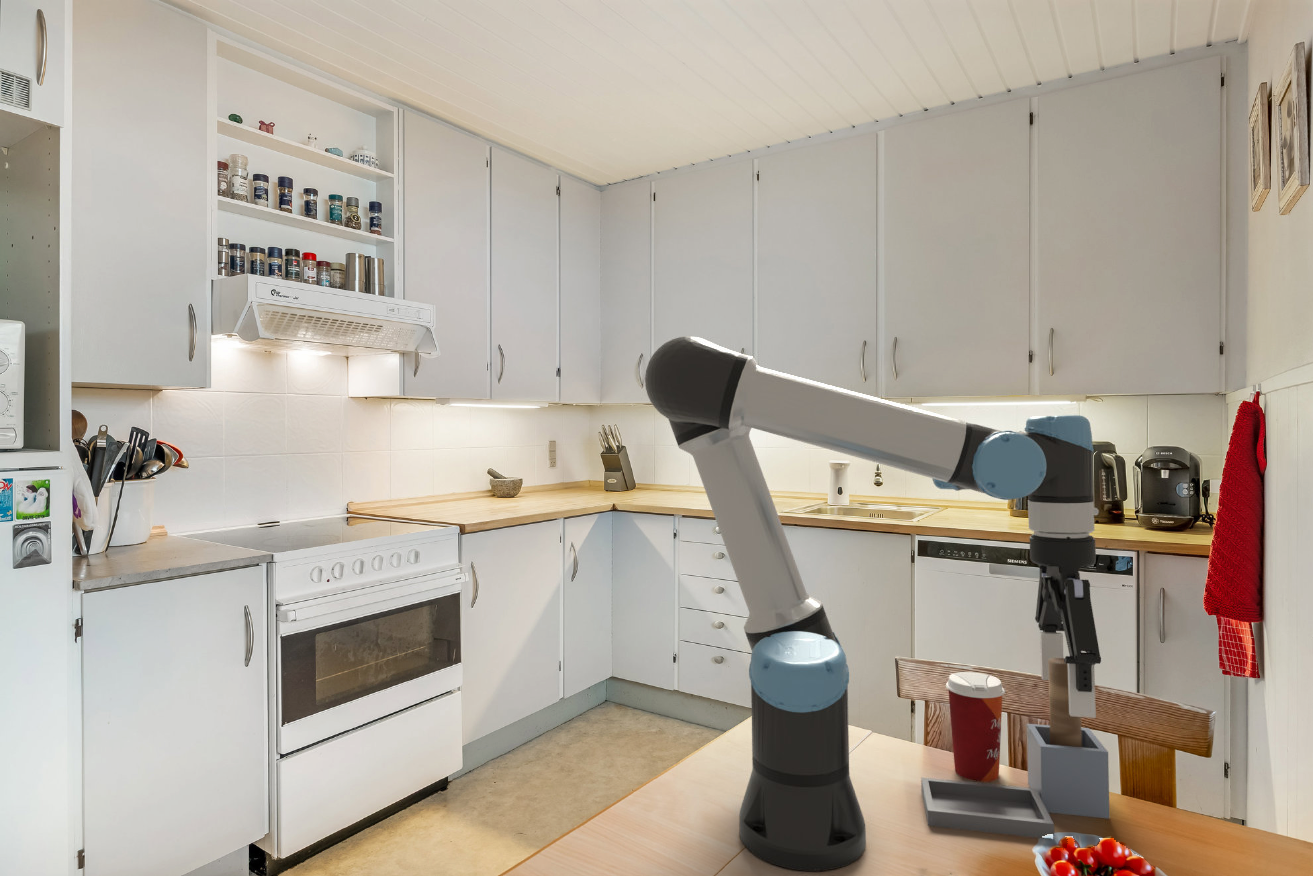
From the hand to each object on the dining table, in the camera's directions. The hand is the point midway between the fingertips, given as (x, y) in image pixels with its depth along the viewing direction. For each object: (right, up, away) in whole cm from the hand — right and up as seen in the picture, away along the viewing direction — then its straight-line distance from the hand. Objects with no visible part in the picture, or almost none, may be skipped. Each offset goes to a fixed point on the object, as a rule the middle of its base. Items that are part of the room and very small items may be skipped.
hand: (1066, 697), depth 95 cm
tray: (-12, -15, -3) cm, 19 cm away
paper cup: (-8, -15, +8) cm, 19 cm away
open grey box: (0, -14, 0) cm, 14 cm away
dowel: (0, -14, 0) cm, 14 cm away
